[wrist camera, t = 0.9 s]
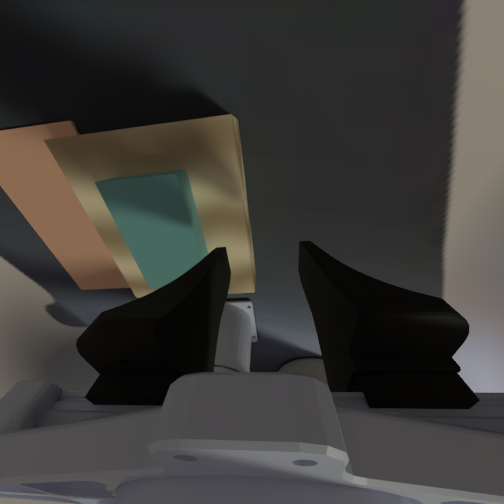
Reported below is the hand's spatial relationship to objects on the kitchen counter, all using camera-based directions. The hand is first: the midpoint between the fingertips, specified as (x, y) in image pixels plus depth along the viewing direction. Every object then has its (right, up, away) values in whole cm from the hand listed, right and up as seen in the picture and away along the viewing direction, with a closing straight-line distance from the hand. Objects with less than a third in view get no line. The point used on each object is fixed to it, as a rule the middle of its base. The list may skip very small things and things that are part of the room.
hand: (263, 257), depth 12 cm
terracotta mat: (-21, +3, +10) cm, 23 cm away
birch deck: (-8, +4, +9) cm, 13 cm away
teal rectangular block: (-8, +2, +5) cm, 10 cm away
